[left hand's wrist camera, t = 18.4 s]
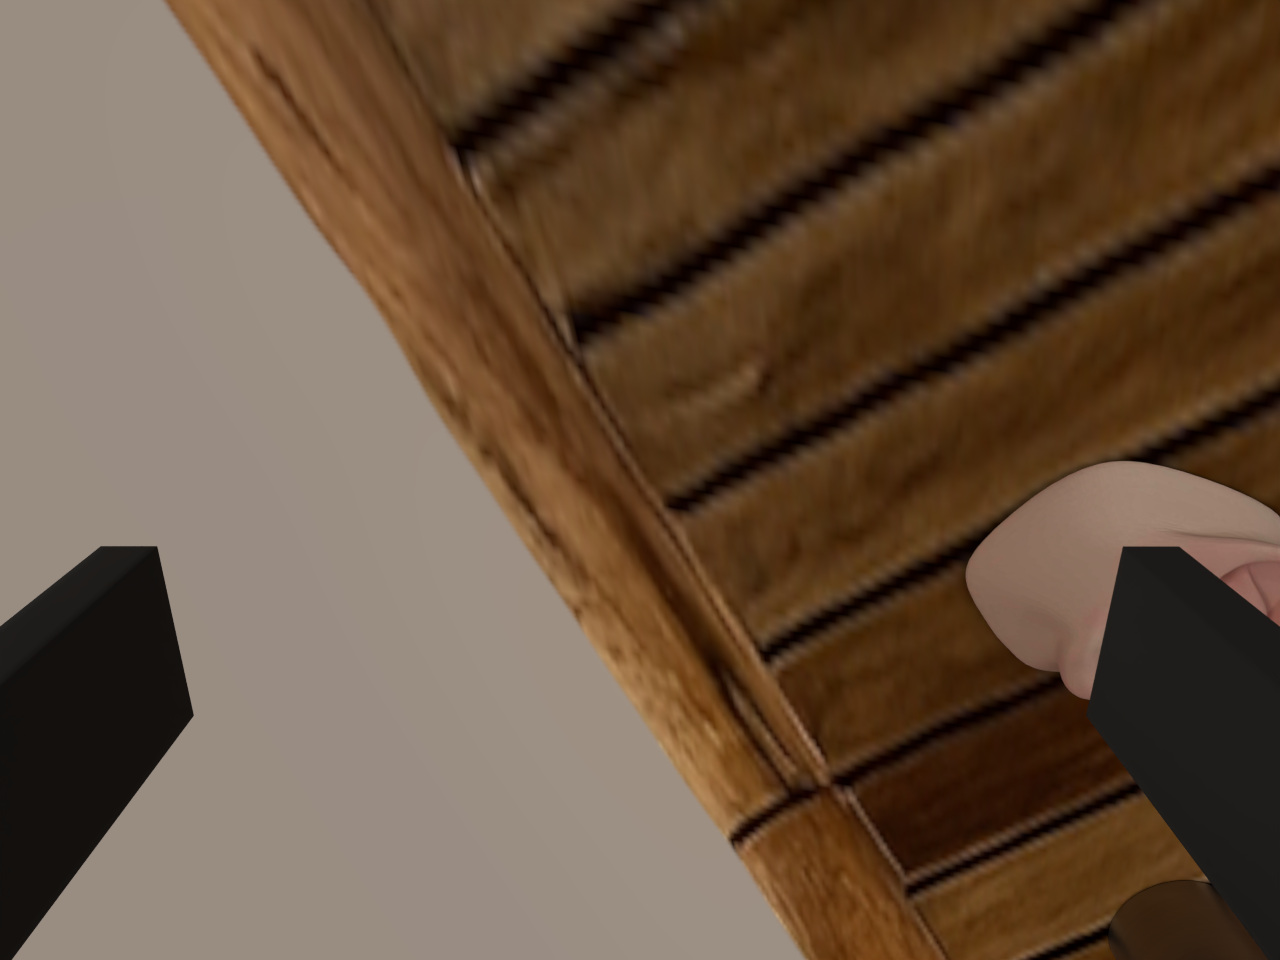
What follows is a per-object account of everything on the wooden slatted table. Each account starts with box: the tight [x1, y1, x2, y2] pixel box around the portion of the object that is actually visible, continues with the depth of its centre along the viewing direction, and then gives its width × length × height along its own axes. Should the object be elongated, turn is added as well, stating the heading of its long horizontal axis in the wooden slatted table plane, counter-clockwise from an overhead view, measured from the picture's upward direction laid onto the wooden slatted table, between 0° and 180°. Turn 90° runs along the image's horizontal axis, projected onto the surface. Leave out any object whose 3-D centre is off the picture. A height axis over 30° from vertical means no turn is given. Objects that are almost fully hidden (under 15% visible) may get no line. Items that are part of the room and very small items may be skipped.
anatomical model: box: [966, 461, 1280, 700], centre depth 40 cm, size 13×4×12 cm
